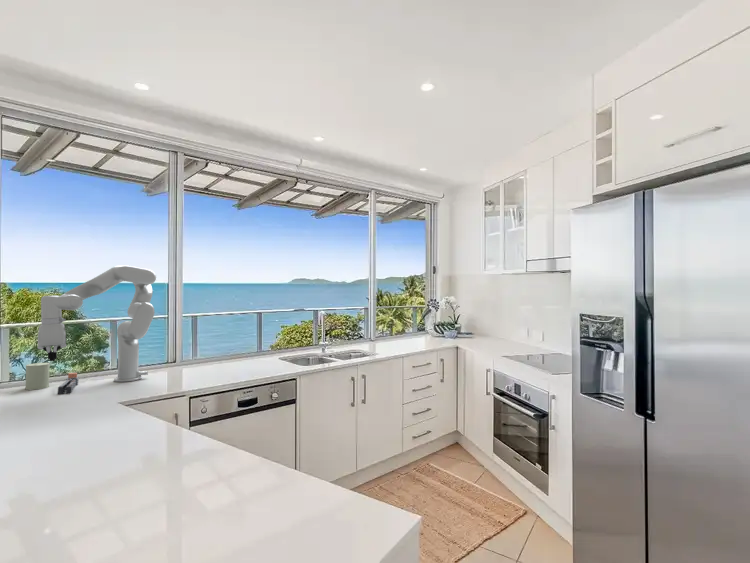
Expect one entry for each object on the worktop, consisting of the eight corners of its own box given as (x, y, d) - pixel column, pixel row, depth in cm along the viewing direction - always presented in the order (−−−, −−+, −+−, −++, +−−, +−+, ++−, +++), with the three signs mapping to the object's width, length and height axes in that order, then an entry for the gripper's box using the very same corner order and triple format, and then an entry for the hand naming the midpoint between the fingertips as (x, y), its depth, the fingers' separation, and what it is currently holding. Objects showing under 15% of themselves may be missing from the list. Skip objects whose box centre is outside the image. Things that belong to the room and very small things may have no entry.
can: (20, 390, 194) (21, 365, 194) (31, 386, 203) (32, 362, 203) (43, 389, 196) (44, 364, 197) (53, 385, 205) (53, 361, 205)
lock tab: (68, 377, 207) (69, 373, 207) (77, 376, 208) (77, 372, 208) (68, 378, 205) (68, 374, 205) (76, 377, 206) (76, 373, 206)
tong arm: (66, 385, 202) (67, 379, 202) (71, 385, 203) (71, 379, 203) (57, 393, 186) (58, 387, 186) (62, 393, 187) (62, 386, 187)
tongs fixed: (67, 384, 206) (67, 377, 206) (78, 383, 209) (78, 376, 209) (59, 394, 186) (59, 387, 186) (71, 393, 188) (71, 385, 188)
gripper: (72, 320, 198) (73, 357, 198) (33, 322, 191) (33, 361, 191) (70, 321, 191) (70, 360, 191) (29, 323, 184) (30, 363, 184)
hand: (52, 360), depth 191 cm, fingers closed
